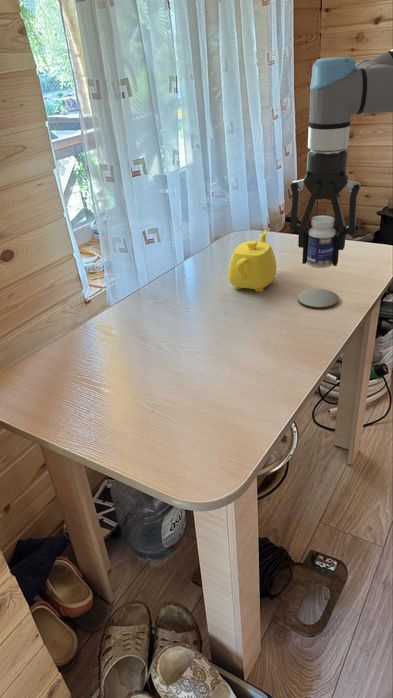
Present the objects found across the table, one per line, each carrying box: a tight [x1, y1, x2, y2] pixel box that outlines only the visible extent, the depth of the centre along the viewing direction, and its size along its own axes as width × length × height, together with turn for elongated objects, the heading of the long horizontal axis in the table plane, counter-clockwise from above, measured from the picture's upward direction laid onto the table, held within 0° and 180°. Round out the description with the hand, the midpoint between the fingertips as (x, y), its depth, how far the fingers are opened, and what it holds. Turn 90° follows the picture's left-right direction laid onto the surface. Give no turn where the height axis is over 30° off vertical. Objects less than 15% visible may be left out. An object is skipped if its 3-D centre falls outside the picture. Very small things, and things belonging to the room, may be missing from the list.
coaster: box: [297, 288, 340, 310], centre depth 116 cm, size 9×9×1 cm
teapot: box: [227, 230, 277, 293], centre depth 123 cm, size 18×11×11 cm, turn 154°
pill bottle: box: [306, 215, 337, 269], centre depth 108 cm, size 6×6×10 cm
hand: (320, 262), depth 111 cm, fingers closed on pill bottle, 6 cm apart
